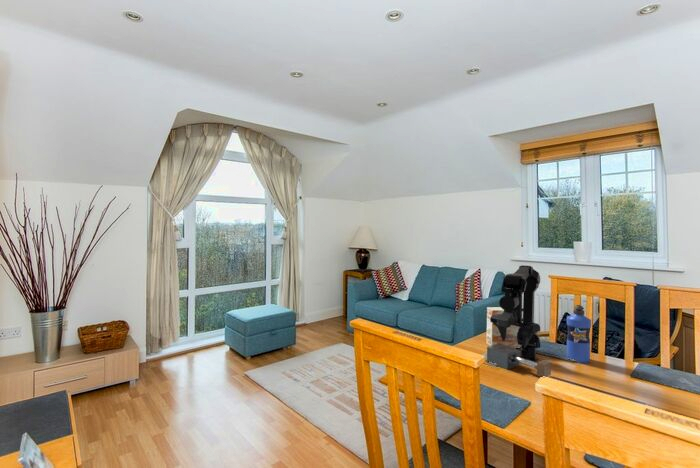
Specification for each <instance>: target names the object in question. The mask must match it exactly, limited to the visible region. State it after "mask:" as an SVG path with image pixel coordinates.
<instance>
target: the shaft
mask: <svg viewBox="0 0 700 468" xmlns="http://www.w3.org/2000/svg"><path fill="white" fill-rule="evenodd" d="M511 360H512V361H515V362H517V363H520V364H519V365H524V366H527V367H529V368H532V369H535V370H536V375H537V376H538V377H541V378H543V377H542V376H546V377H548V376H551V374H552V362H551V361H549V360H545V359H542V360H539V361H537V362H536V361H533V362H532V361H529V360H526V359H523V358H520V357H517V356H514V355H511Z"/></svg>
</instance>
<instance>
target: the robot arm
mask: <svg viewBox="0 0 700 468" xmlns="http://www.w3.org/2000/svg"><path fill="white" fill-rule="evenodd" d="M540 284H541V275H540V273H539V272H538V271H537V270H536V269H534V268H533V266H531V265H526V264H525V265H522V264H521V265H519V267H518V269H517V270H516V271H515V272H513V273H508V274H506V275H505V276H504V277H503V281H502V286H501V290H500V292H501V293H504V295H503V296H502V297H501V298H500V299H499V302H498V303H499V307H501V308H502V309H503V310H504V313H502V314H495V315H492V316H491V317H490V322H492V323H493V324H494V325H495V326H496V327H497V328H498V330H499V332H500V335H501V337H502V340H503V341H505V338H506V330H507V328H509V327H510V326H511V325H513V326H514V325H515V326H518V327H520V328H519V329H518V333H517V342H518V345H521V349H520V352H521V353H520V358H523V359H526V360H529V361H532V362H536V361H538V360H539V359H540V358H539V357H537V356H536V354H537V352H536V351H537V349H539V348H541V345H542V344H541V339H540V337H539V334H538V332H541V326H540V324H539V323H536V322H534V321H535V292H536V291H537V290H538V289H539V286H540Z"/></svg>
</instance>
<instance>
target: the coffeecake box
mask: <svg viewBox="0 0 700 468" xmlns="http://www.w3.org/2000/svg"><path fill="white" fill-rule="evenodd" d="M502 313H504V310H503V309H502V308H501V307H500V306H497V307H496V306H495V307H492V306H487V307H486V345H487V347H489V346H492V345H495V344H499V343H500V344H503V345H506V346H509V347H513V348H518V347H521V348H522V345H518V342H517V333H518V329H519V328H520V327H518V326H515V325H514V326H513V325H511V326H510V327H509V328H507V330H506V338H505V341H503V340H502V337H501V335H500V332H499V330H498V328H497V327H496V326H495V325H494V324H493V323H492V322H490V317H491V316H492V315H495V314H502Z"/></svg>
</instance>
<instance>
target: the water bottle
mask: <svg viewBox="0 0 700 468" xmlns="http://www.w3.org/2000/svg"><path fill="white" fill-rule="evenodd" d="M573 308H574V309H573V312H572V313H573V314H571V315H567V316H566V325H567V338H566V358H567V357H568V358H571V359H574V360H576V361H577V362H578V363H577V362H576V363H577V364H589V363H588V362H590V363H591V339H590V338H591V337H590V332H591V328H592V319H591V318H589V317H587V316H585V310H584V307H583V306H582V305H580V304H576V305H575V306H574V307H573Z"/></svg>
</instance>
